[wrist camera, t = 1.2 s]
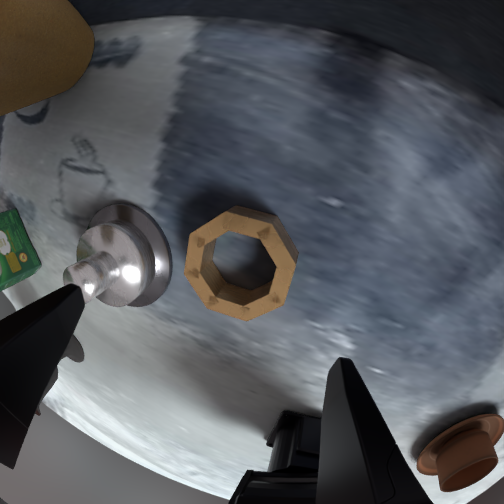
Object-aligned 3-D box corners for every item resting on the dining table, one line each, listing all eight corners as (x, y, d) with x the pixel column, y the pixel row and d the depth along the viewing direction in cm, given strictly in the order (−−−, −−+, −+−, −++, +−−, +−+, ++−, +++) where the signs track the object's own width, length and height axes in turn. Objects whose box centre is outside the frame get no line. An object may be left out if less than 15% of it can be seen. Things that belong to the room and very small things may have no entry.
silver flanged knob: (167, 317, 25) (128, 360, 19) (89, 284, 26) (44, 314, 20) (179, 217, 21) (129, 242, 15) (91, 194, 23) (35, 209, 17)
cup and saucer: (506, 428, 21) (519, 460, 15) (432, 472, 25) (437, 506, 20) (491, 388, 20) (510, 428, 14) (399, 445, 25) (404, 488, 19)
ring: (280, 312, 22) (275, 330, 20) (193, 285, 23) (180, 299, 21) (306, 224, 20) (305, 233, 17) (208, 197, 20) (195, 203, 18)
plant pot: (13, 105, 22) (-99, 116, 7) (70, -10, 16) (-38, -42, 2) (79, 157, 22) (-84, 190, 7) (160, 6, 16) (13, -76, 1)
